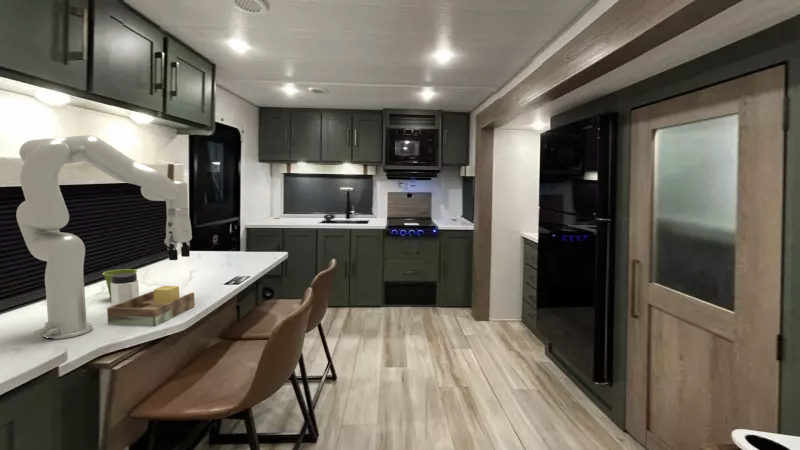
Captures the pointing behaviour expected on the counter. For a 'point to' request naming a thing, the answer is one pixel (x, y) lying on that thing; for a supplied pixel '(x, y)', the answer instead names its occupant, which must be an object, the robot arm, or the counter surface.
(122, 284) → the jar
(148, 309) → the wooden tray
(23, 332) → the counter surface
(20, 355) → the counter surface
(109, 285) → the plant pot
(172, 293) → the block
